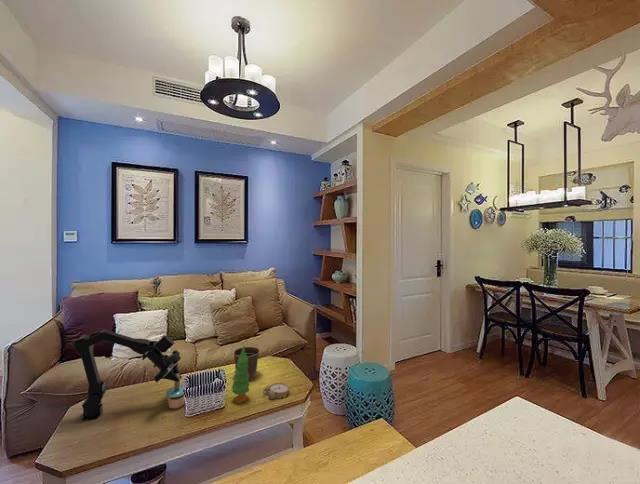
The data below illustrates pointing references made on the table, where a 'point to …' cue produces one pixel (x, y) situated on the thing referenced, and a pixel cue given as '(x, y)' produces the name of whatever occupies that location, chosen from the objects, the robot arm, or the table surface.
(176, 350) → the robot arm
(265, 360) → the table surface
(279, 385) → the candle holder
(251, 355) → the plant pot
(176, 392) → the teal stand with rod
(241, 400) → the decorative tree
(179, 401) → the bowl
